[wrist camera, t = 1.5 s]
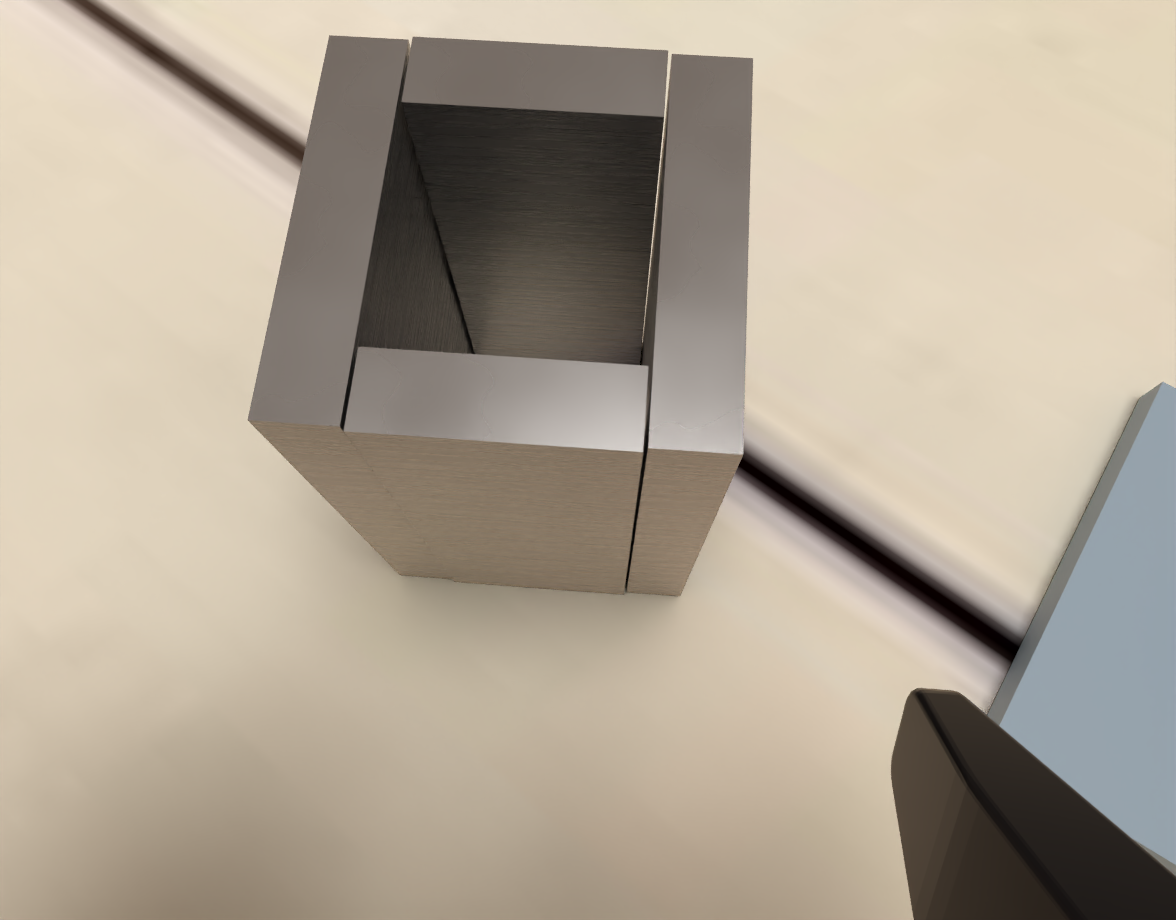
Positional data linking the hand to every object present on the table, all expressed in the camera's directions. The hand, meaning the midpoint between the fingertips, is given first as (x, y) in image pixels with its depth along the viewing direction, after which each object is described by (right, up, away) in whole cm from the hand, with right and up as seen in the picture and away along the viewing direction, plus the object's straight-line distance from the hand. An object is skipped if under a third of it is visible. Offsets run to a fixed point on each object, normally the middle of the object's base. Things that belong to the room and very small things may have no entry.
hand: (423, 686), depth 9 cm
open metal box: (+1, +2, +14) cm, 14 cm away
